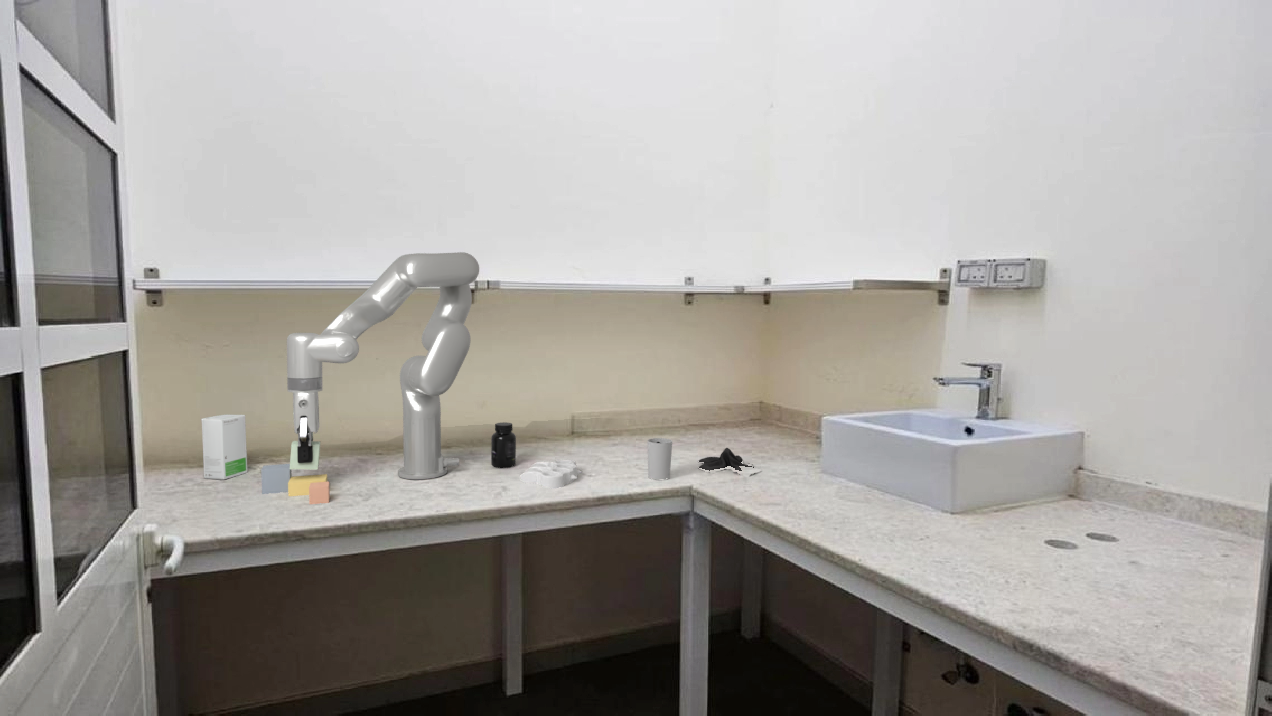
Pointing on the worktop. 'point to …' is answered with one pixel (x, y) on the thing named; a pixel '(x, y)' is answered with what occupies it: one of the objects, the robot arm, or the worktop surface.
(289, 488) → the ochre block
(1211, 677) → the worktop surface
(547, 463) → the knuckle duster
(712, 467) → the cloth
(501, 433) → the supplement bottle
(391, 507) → the worktop surface
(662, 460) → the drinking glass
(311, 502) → the terracotta cube
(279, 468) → the slate block
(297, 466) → the sage block
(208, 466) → the skincare box
